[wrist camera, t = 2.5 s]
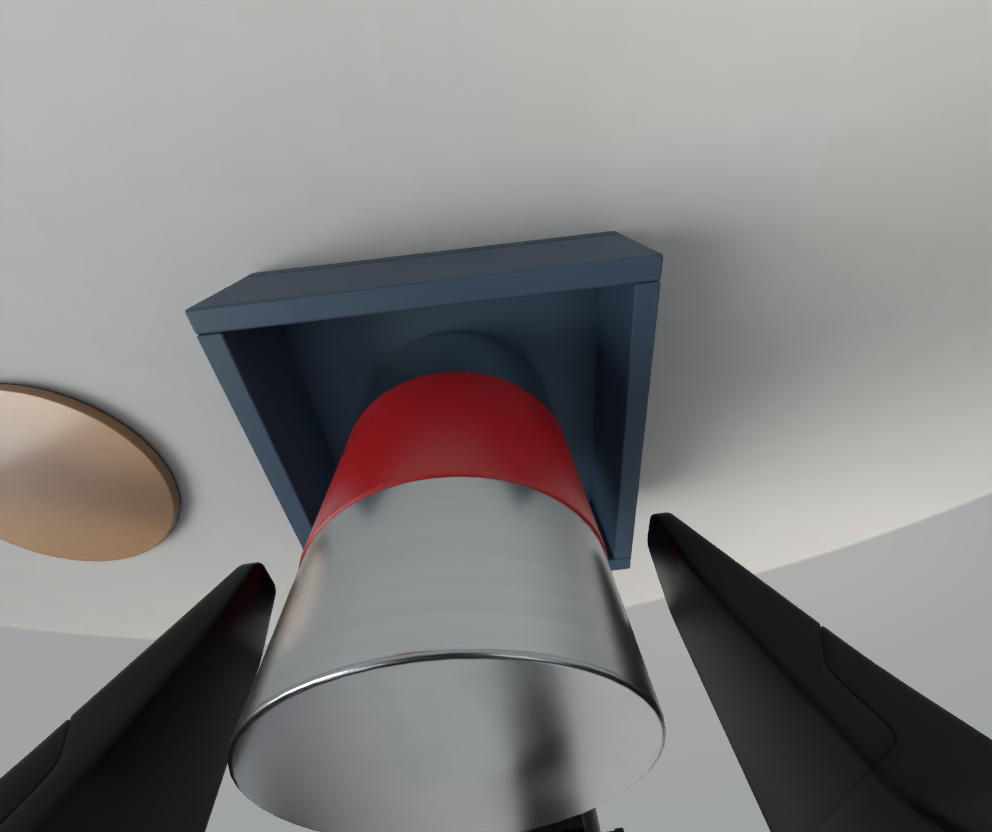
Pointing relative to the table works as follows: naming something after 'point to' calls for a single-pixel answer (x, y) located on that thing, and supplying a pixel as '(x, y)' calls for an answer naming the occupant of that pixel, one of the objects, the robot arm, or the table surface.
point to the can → (450, 621)
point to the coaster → (78, 480)
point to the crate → (432, 310)
